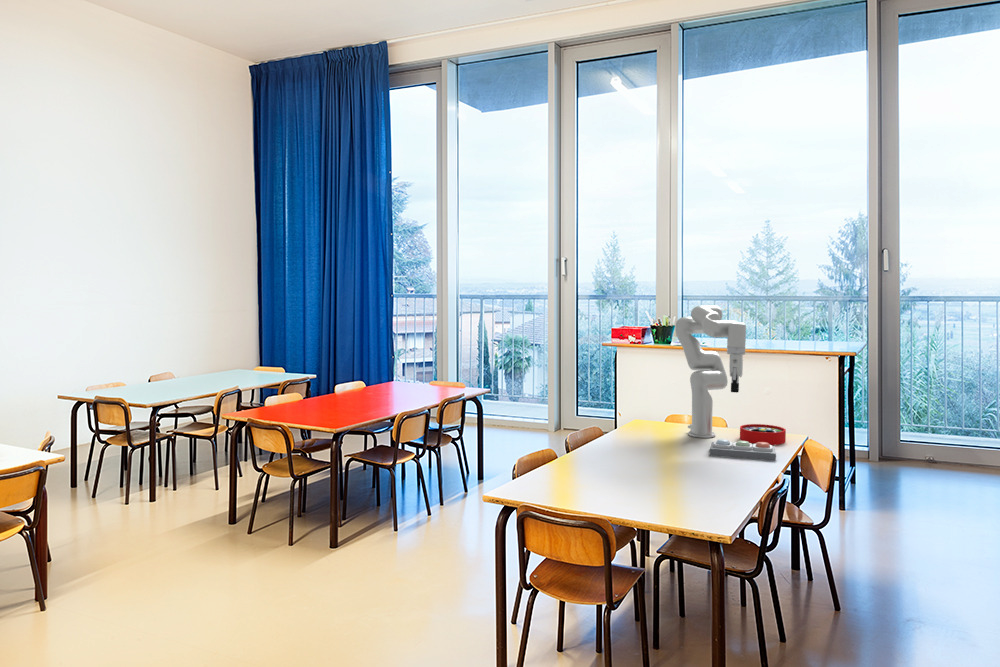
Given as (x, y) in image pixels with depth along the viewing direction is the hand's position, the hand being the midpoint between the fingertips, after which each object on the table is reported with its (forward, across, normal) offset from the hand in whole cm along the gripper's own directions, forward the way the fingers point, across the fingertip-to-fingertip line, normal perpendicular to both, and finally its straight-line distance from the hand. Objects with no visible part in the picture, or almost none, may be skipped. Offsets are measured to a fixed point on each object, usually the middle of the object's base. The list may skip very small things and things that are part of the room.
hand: (734, 391), depth 298 cm
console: (+25, -9, -4) cm, 27 cm away
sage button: (+22, -9, -5) cm, 24 cm away
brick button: (+22, -9, -13) cm, 26 cm away
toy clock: (+26, +23, -12) cm, 37 cm away
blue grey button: (+22, -9, +3) cm, 24 cm away
